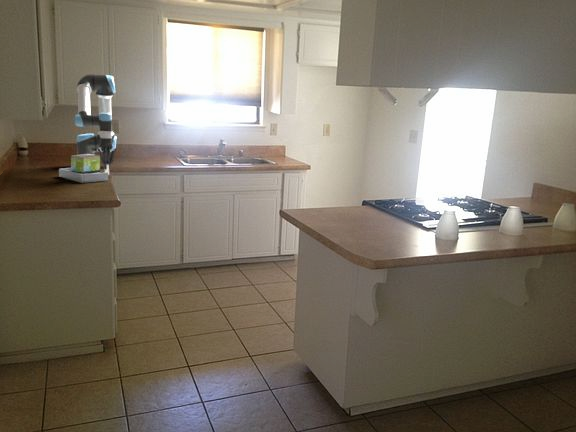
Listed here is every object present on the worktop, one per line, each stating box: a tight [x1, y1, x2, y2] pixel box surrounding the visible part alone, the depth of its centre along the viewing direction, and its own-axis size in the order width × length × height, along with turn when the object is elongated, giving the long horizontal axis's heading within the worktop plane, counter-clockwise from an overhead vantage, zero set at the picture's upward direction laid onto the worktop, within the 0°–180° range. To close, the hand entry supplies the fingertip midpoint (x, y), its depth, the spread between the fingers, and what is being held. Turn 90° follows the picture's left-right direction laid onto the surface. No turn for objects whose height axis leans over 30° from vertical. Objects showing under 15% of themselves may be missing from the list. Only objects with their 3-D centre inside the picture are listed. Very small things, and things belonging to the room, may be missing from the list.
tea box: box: [70, 154, 101, 174], centre depth 327 cm, size 15×10×15 cm
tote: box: [58, 167, 109, 184], centre depth 327 cm, size 17×29×5 cm, turn 49°
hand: (107, 174), depth 339 cm, fingers closed
